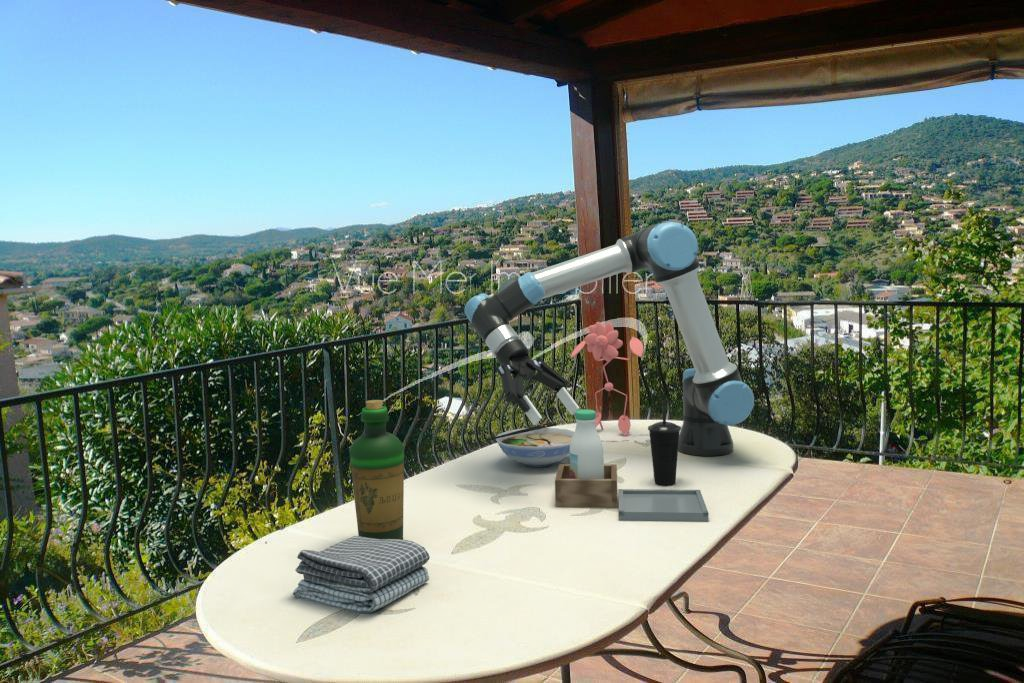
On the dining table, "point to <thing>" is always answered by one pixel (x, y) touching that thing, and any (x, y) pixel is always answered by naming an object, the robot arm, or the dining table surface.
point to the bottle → (378, 476)
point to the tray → (661, 505)
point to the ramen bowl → (536, 444)
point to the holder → (586, 489)
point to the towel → (361, 573)
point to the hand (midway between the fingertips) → (557, 416)
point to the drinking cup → (664, 450)
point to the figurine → (608, 360)
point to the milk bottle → (586, 448)
